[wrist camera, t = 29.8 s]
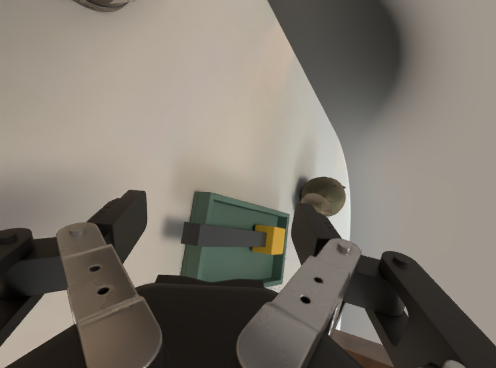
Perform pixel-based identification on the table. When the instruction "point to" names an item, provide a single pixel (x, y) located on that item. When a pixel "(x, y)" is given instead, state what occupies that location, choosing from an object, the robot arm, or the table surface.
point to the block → (235, 237)
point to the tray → (233, 258)
